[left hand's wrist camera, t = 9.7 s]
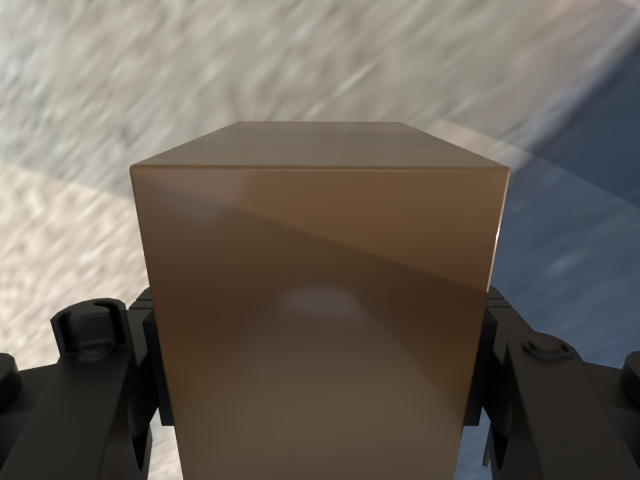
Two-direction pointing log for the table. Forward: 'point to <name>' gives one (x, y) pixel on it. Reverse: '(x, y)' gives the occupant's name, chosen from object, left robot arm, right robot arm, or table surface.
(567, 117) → the table surface
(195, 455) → the beam
